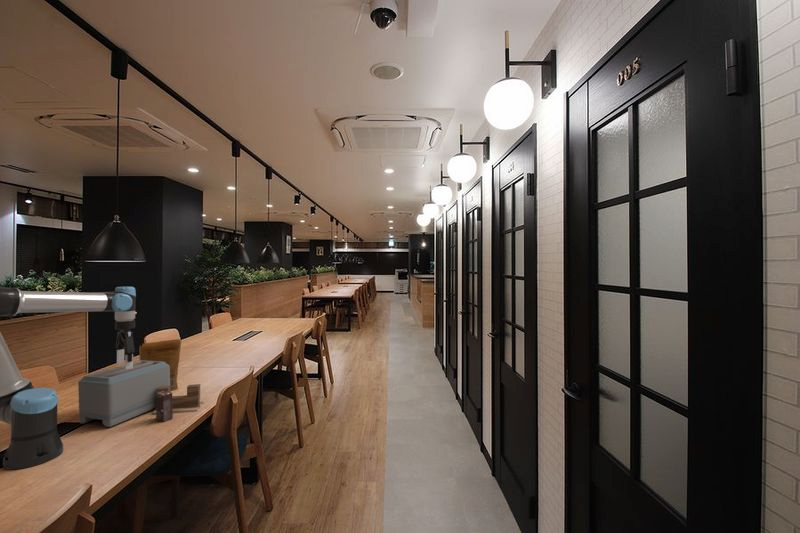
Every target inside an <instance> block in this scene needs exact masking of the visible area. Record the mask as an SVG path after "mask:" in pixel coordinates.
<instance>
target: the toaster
mask: <svg viewBox="0 0 800 533" xmlns="http://www.w3.org/2000/svg"><path fill="white" fill-rule="evenodd" d="M77 384H78V414H79V417H78V418H79V419H78V420H79V422H78V423H79V424H84V425H85V424H87V423H90V422H93V421H96V420H101V421H102V424H103V425H104V427H105V428H111V427H114V426H116V425H118V424H121V423H123V422H125V421H128V420H130V419H133V418H135V417H137V416H140V415H143V414H144V413H147V412H150V411H152V410H154V409H156V389H157V388H158V387H164V386H170V366H169V365H168V364H166V363H165V362H161V361H145V360H141V361H140V360H138V361H135V362H134V361H133V368H131V369H125V364H124V365H119V366H116V367H112V368H108V369H105V370H102V371H98V372H94V373H90V374H87V375H84V376H82V378H81V379H80V380H79V381H78V383H77Z"/></svg>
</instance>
